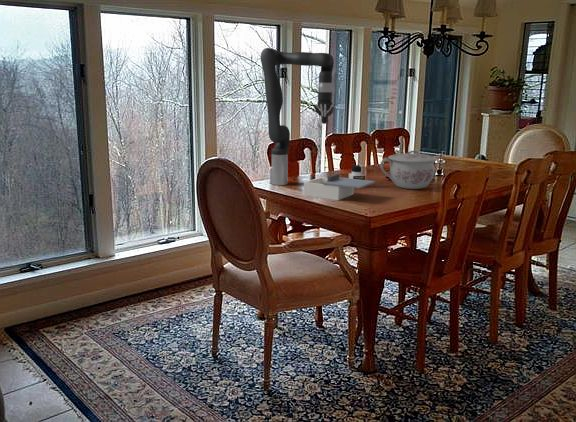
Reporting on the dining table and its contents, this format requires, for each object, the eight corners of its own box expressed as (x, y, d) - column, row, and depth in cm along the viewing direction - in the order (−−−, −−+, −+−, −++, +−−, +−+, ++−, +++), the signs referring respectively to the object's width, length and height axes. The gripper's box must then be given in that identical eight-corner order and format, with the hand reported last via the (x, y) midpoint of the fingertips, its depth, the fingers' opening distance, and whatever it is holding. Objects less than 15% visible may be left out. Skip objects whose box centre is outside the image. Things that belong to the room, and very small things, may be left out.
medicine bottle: (352, 188, 309) (353, 166, 306) (348, 185, 316) (348, 164, 313) (364, 187, 311) (365, 166, 308) (359, 185, 318) (360, 164, 315)
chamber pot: (444, 187, 314) (447, 150, 309) (420, 194, 294) (423, 155, 289) (401, 180, 332) (403, 146, 327) (376, 187, 312) (377, 150, 307)
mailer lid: (322, 184, 281) (322, 177, 280) (339, 178, 296) (339, 172, 295) (359, 188, 270) (359, 181, 269) (374, 182, 285) (375, 176, 284)
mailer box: (303, 195, 288) (303, 182, 286) (320, 189, 303) (320, 177, 301) (338, 200, 278) (338, 186, 276) (353, 194, 293) (354, 181, 291)
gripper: (311, 91, 301) (310, 123, 305) (332, 91, 295) (331, 124, 299) (317, 91, 308) (317, 122, 312) (339, 91, 301) (338, 123, 305)
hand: (324, 123), depth 305 cm, fingers closed
